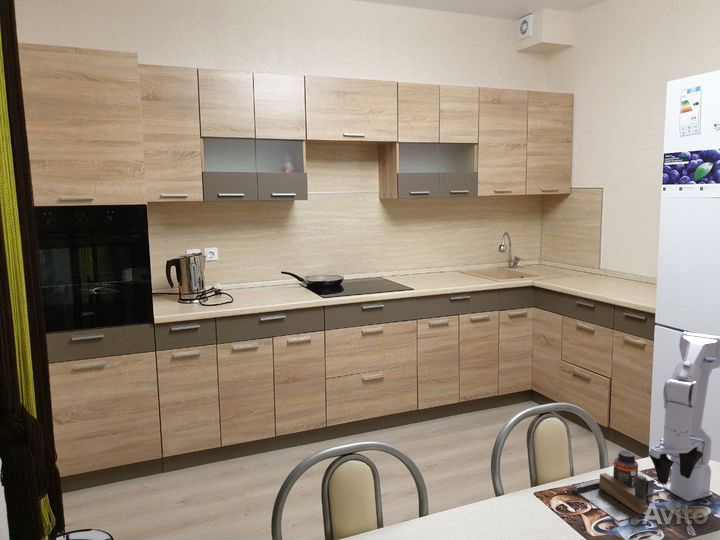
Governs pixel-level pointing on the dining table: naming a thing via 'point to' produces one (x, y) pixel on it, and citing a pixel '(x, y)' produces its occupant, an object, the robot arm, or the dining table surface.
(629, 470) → the supplement bottle
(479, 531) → the dining table surface
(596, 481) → the vice frame
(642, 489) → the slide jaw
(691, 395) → the robot arm
